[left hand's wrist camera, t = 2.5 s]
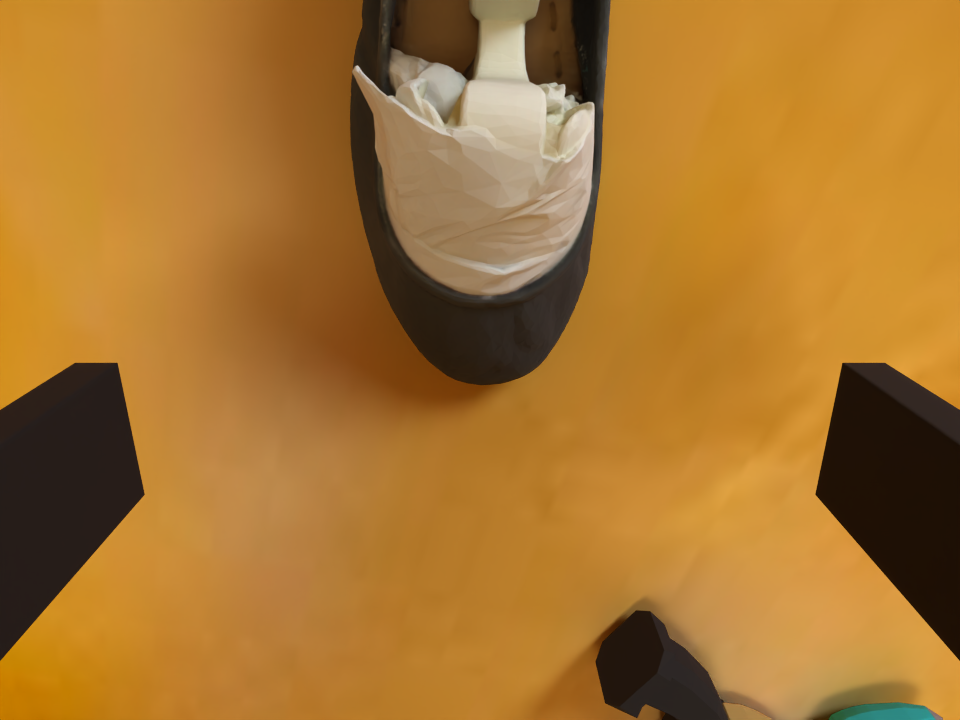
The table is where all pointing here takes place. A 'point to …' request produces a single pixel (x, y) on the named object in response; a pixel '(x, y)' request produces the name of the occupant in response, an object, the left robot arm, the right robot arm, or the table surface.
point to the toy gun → (690, 680)
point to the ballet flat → (480, 171)
